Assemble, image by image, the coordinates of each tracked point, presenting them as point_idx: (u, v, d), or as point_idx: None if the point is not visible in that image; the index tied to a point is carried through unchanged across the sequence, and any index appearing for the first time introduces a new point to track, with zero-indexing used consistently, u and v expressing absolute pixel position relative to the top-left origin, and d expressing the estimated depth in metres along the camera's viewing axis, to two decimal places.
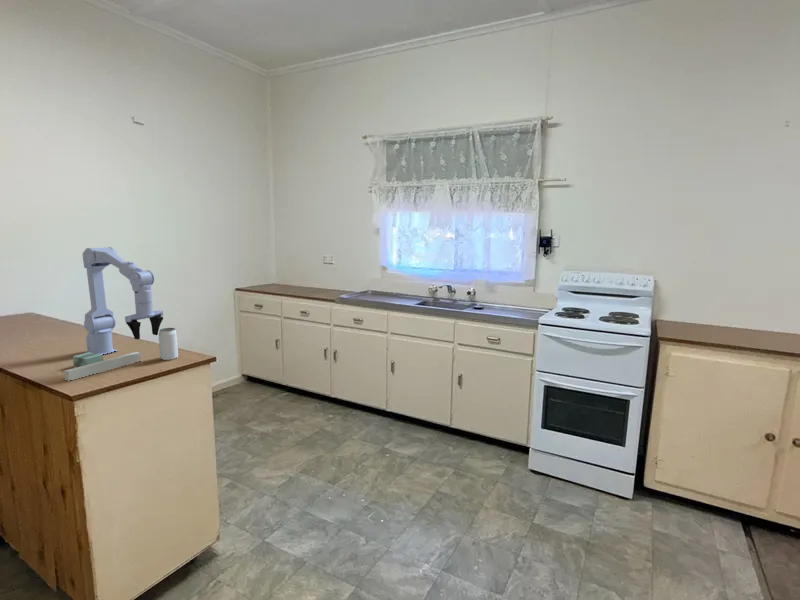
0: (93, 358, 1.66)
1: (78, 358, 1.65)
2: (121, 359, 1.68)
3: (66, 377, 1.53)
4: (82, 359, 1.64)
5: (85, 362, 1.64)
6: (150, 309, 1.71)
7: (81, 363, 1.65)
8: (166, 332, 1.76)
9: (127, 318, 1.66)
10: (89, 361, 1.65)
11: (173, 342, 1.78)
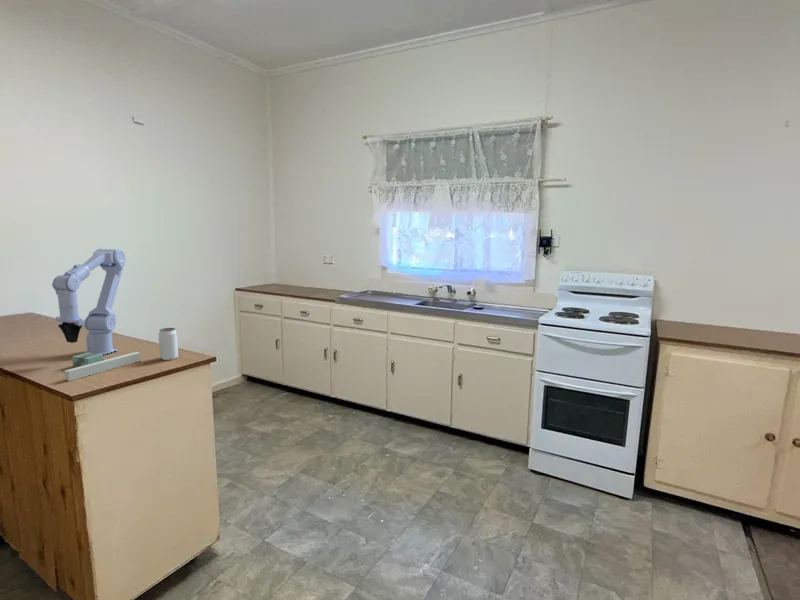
0: (94, 358, 1.66)
1: (78, 358, 1.65)
2: (121, 359, 1.68)
3: (66, 377, 1.53)
4: (83, 359, 1.64)
5: (86, 362, 1.64)
6: (62, 315, 1.66)
7: (82, 363, 1.65)
8: (166, 332, 1.76)
9: None
10: (91, 361, 1.65)
11: (173, 342, 1.78)
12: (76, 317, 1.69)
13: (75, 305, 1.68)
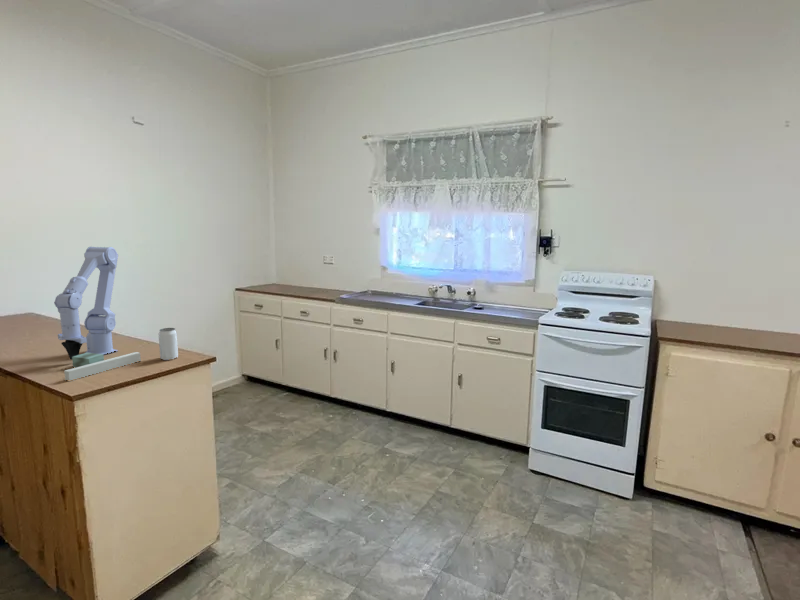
0: (95, 358, 1.66)
1: (79, 358, 1.65)
2: (121, 359, 1.68)
3: (66, 377, 1.53)
4: (84, 359, 1.65)
5: (87, 362, 1.64)
6: (64, 333, 1.67)
7: (82, 363, 1.65)
8: (166, 332, 1.76)
9: None
10: (91, 361, 1.65)
11: (173, 342, 1.78)
12: (78, 335, 1.70)
13: (77, 323, 1.69)
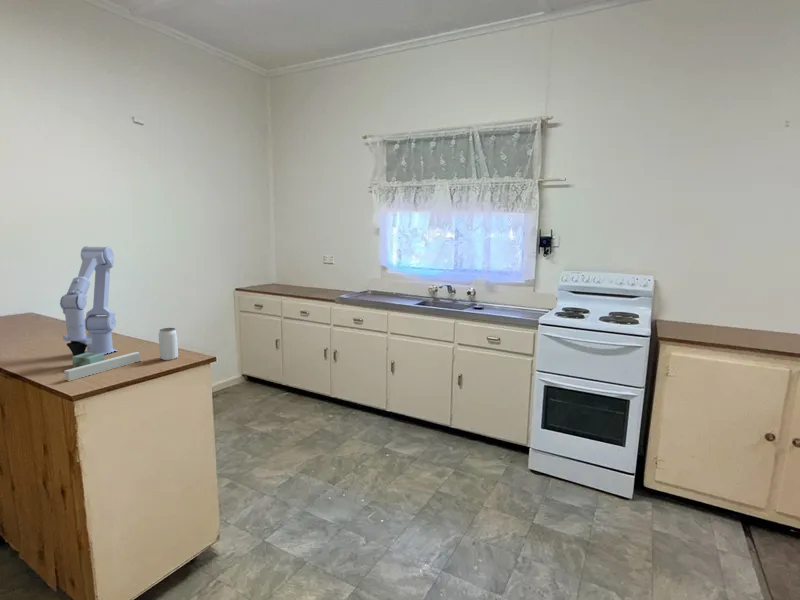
0: (95, 357, 1.66)
1: (79, 358, 1.65)
2: (121, 359, 1.68)
3: (66, 377, 1.53)
4: (84, 359, 1.64)
5: (88, 362, 1.64)
6: (69, 333, 1.66)
7: (83, 363, 1.65)
8: (166, 332, 1.76)
9: None
10: (92, 361, 1.65)
11: (173, 342, 1.78)
12: (83, 335, 1.69)
13: (83, 323, 1.69)
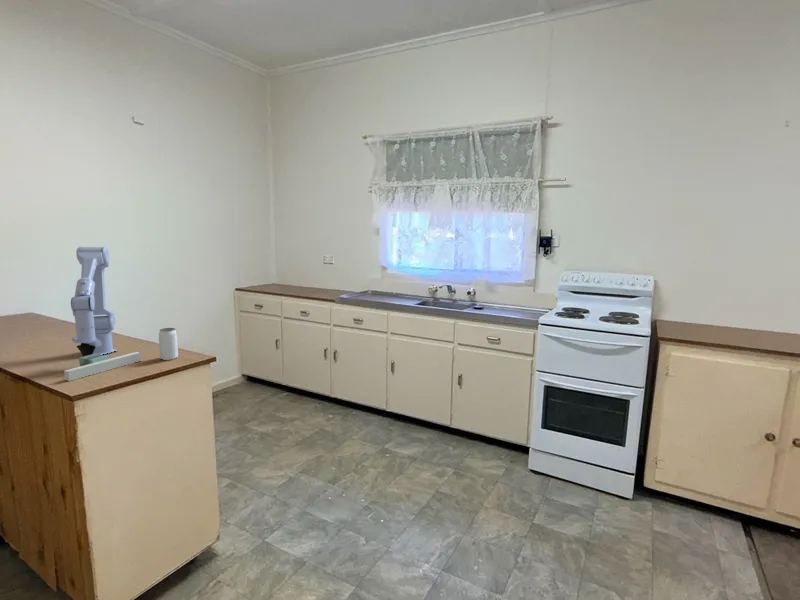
0: (99, 359, 1.63)
1: (84, 359, 1.63)
2: (121, 359, 1.68)
3: (66, 377, 1.53)
4: (88, 360, 1.62)
5: None
6: (79, 336, 1.64)
7: None
8: (166, 332, 1.76)
9: None
10: None
11: (173, 342, 1.78)
12: (93, 337, 1.66)
13: (94, 325, 1.67)
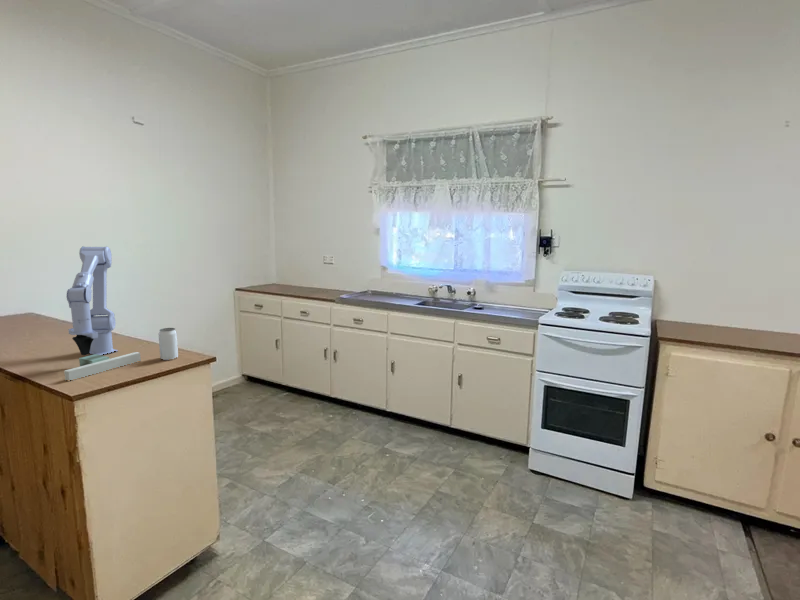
0: (99, 360, 1.63)
1: (84, 360, 1.63)
2: (121, 359, 1.68)
3: (66, 377, 1.53)
4: (88, 361, 1.62)
5: None
6: (75, 327, 1.64)
7: None
8: (166, 332, 1.76)
9: None
10: None
11: (173, 342, 1.78)
12: (89, 329, 1.67)
13: (90, 317, 1.67)
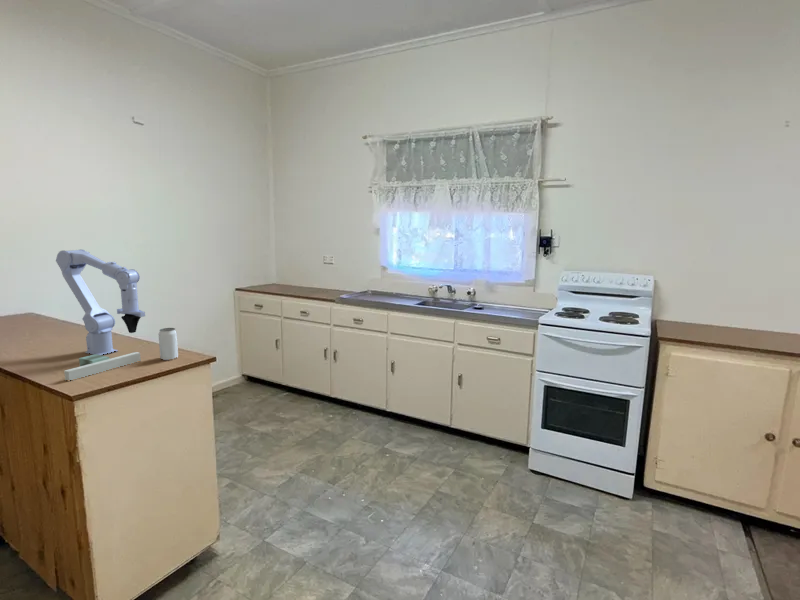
0: (99, 360, 1.63)
1: (84, 360, 1.63)
2: (121, 359, 1.68)
3: (66, 377, 1.53)
4: (88, 361, 1.62)
5: None
6: (124, 307, 1.79)
7: None
8: (166, 332, 1.76)
9: None
10: None
11: (173, 342, 1.78)
12: (137, 309, 1.81)
13: None
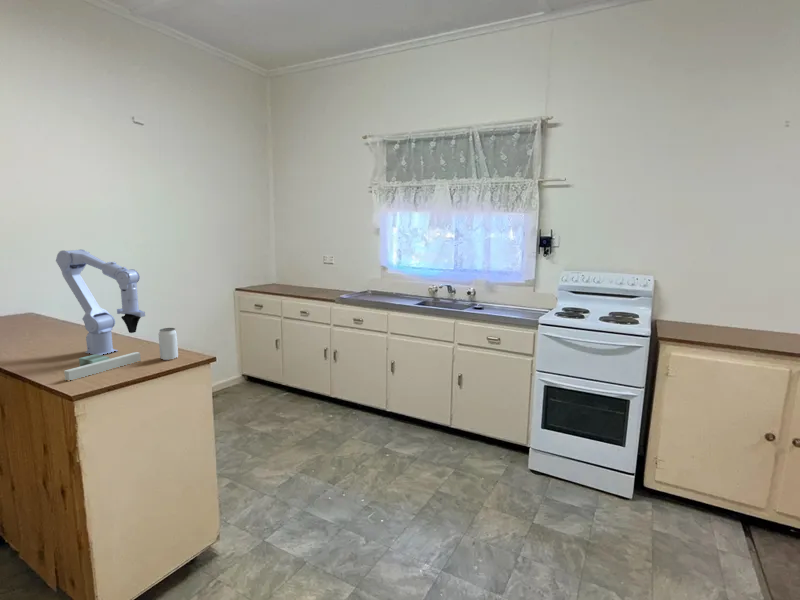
0: (99, 360, 1.63)
1: (84, 360, 1.63)
2: (121, 359, 1.68)
3: (66, 377, 1.53)
4: (88, 361, 1.62)
5: None
6: (124, 307, 1.79)
7: None
8: (166, 332, 1.76)
9: None
10: None
11: (173, 342, 1.78)
12: (137, 309, 1.81)
13: None
